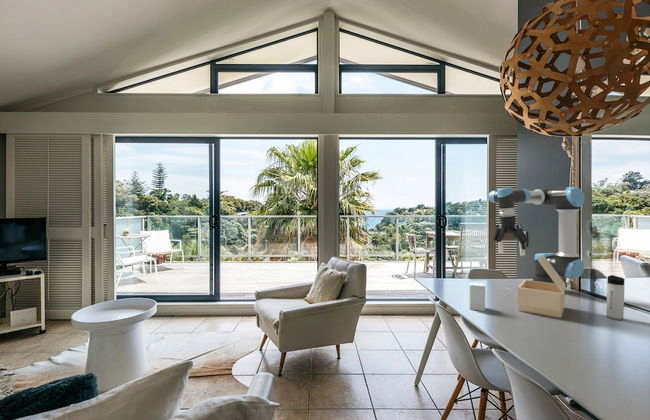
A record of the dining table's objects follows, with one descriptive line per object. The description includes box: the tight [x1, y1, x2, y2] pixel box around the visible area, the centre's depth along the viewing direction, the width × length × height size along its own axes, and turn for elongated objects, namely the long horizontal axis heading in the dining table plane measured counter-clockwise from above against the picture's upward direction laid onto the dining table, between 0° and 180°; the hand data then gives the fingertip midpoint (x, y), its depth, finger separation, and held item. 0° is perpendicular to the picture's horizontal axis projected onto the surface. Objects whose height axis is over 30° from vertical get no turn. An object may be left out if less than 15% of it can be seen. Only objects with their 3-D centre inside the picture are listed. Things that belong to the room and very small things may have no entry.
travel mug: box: [605, 274, 625, 321], centre depth 164 cm, size 6×7×20 cm
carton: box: [516, 279, 566, 319], centre depth 177 cm, size 23×19×12 cm
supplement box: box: [468, 282, 486, 312], centre depth 177 cm, size 7×7×13 cm
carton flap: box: [538, 255, 567, 293], centre depth 174 cm, size 21×18×1 cm
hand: (511, 254), depth 187 cm, fingers open, 13 cm apart
